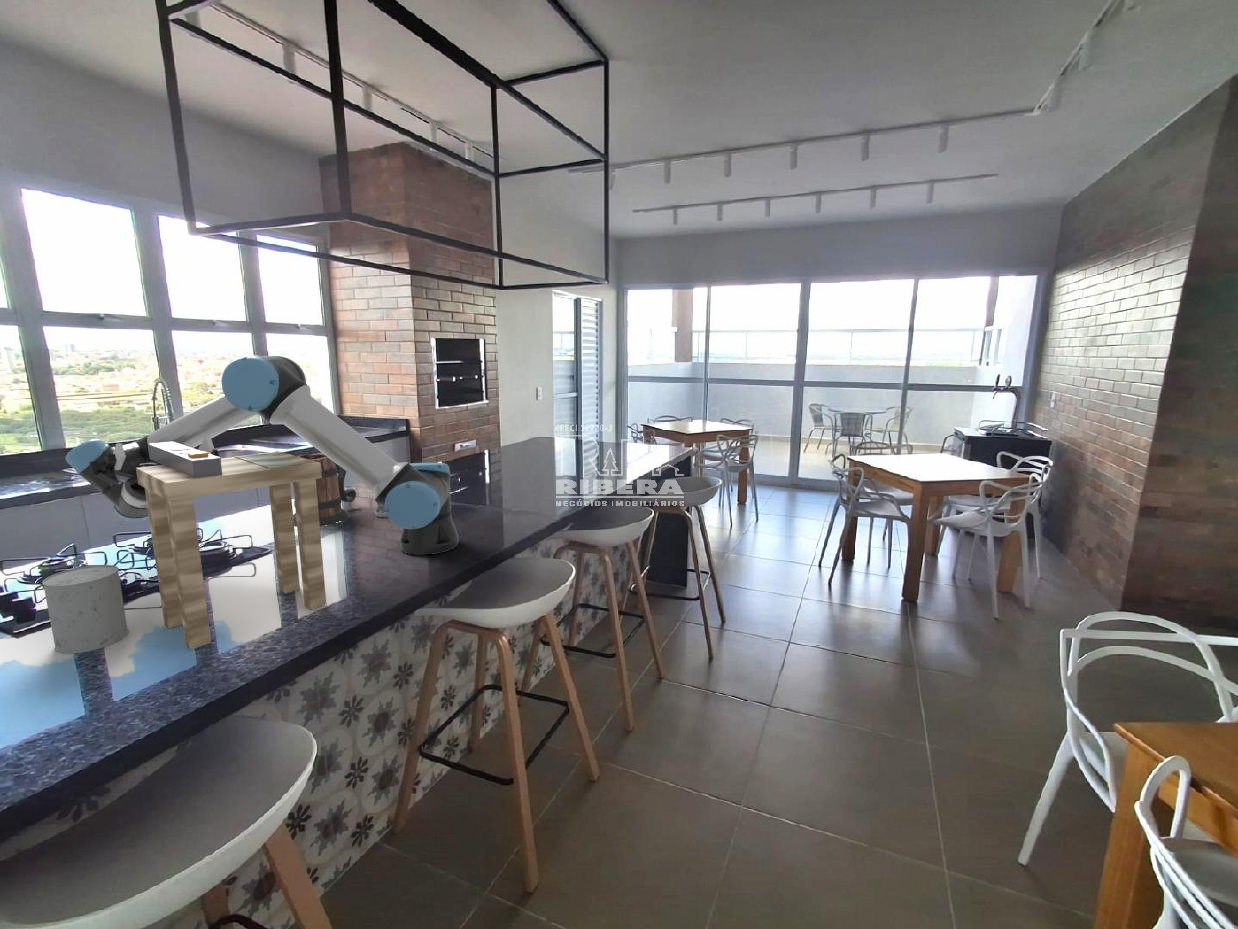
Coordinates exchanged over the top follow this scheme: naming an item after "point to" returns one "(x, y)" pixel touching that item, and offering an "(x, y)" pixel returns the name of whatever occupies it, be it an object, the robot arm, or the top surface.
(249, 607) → the top surface
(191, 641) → the shelf stand
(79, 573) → the speckled concrete cylinder
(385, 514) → the ceramic mug
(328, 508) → the tankard
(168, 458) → the power strip
